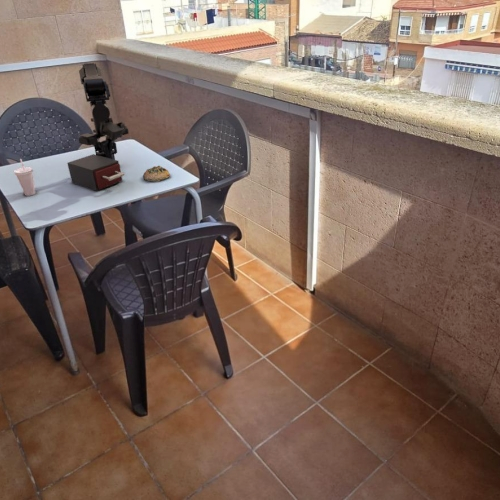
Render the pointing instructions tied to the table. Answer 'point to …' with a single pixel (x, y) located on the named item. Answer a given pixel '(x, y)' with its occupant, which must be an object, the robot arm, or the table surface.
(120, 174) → the drawer
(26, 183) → the smoothie
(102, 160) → the drawer box with handle
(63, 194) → the table surface
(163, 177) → the bread roll
